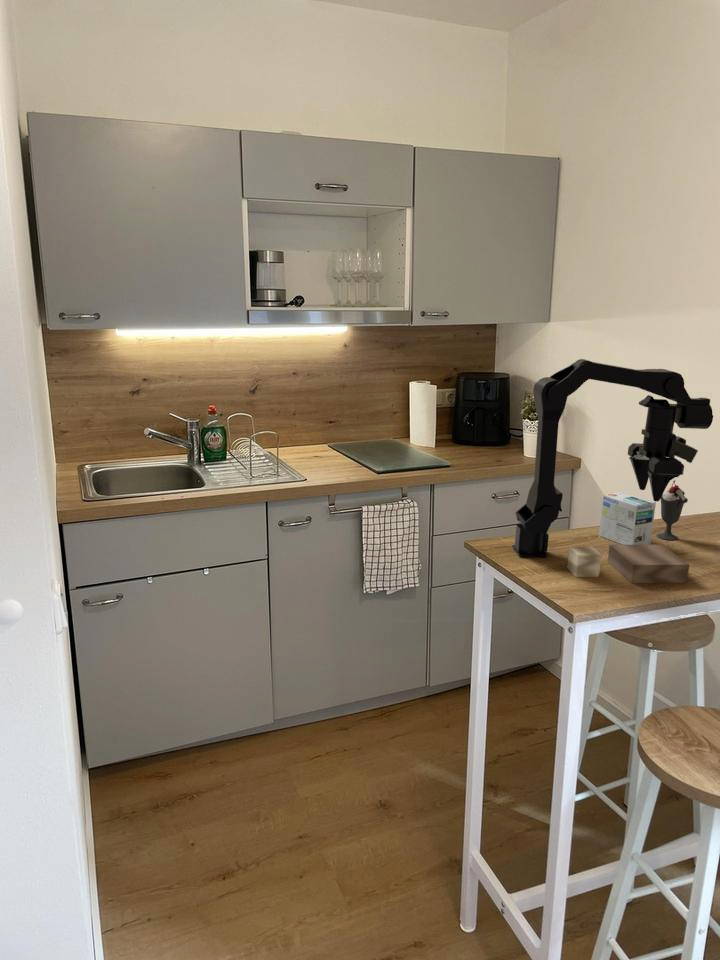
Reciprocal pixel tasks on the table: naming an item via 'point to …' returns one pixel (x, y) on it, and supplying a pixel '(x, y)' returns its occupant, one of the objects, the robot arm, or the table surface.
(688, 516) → the table surface
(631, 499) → the light bulb box
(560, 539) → the table surface
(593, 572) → the maple cube
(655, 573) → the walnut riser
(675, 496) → the sundae
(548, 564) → the table surface
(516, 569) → the table surface
